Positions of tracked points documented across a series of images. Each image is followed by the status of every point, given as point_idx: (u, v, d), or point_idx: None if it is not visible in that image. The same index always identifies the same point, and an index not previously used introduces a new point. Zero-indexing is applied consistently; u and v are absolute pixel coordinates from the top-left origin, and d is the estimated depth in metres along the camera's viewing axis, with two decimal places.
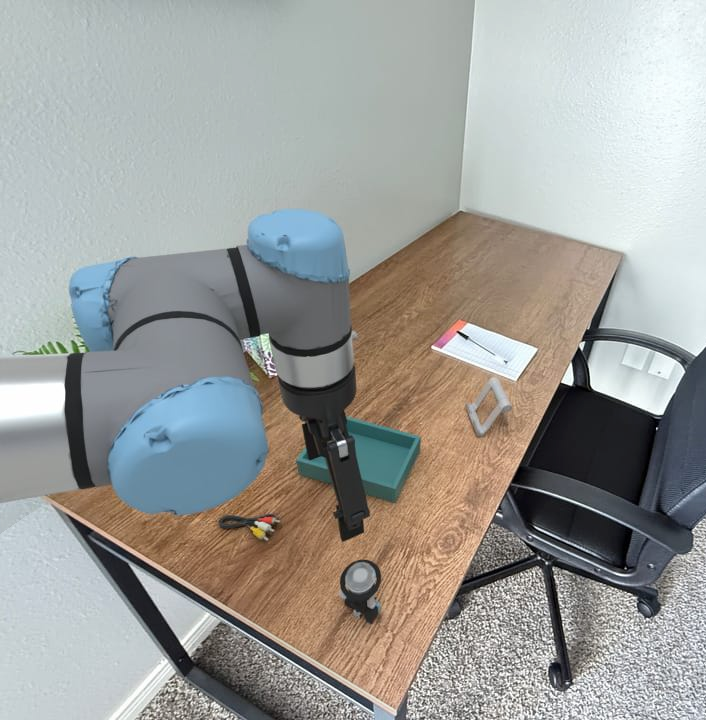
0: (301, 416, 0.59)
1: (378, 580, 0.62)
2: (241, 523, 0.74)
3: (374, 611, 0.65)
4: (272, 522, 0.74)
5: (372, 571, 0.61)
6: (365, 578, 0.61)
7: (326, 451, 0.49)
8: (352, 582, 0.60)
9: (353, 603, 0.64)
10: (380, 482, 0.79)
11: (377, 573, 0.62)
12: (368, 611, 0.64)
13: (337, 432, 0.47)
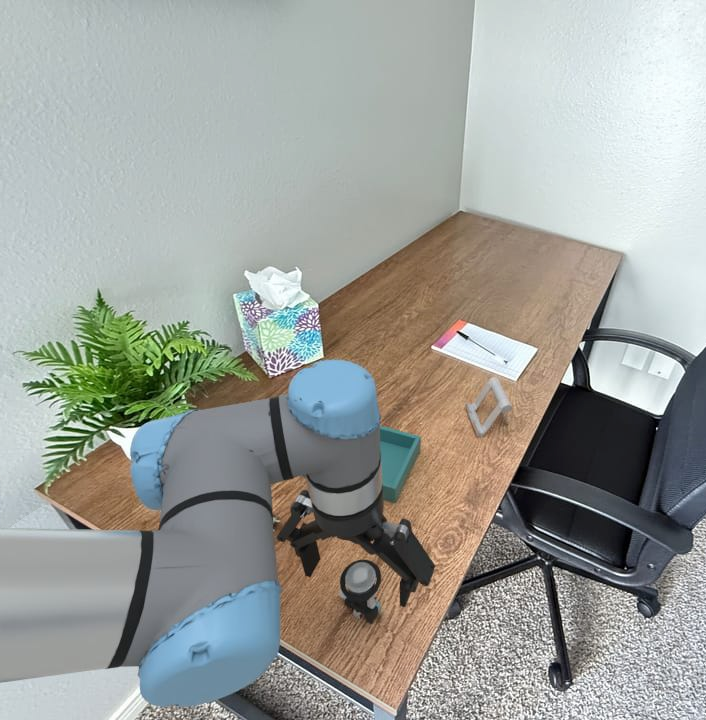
0: (297, 544, 0.58)
1: (378, 580, 0.62)
2: None
3: (374, 611, 0.65)
4: None
5: (372, 571, 0.61)
6: (365, 578, 0.61)
7: (379, 547, 0.54)
8: (352, 582, 0.60)
9: (353, 603, 0.64)
10: None
11: (377, 573, 0.62)
12: (368, 611, 0.64)
13: (390, 525, 0.52)
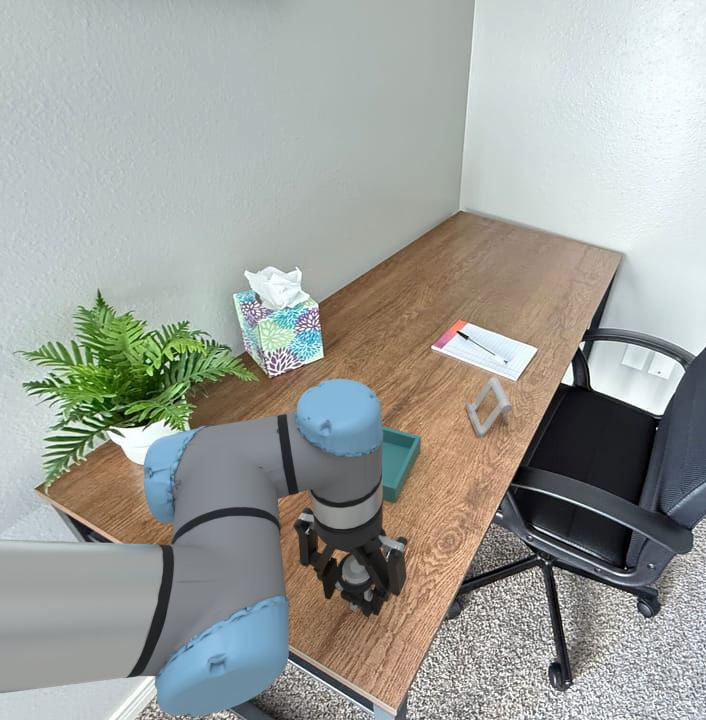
0: (318, 567, 0.60)
1: None
2: None
3: (371, 604, 0.63)
4: None
5: None
6: (363, 569, 0.59)
7: (370, 560, 0.56)
8: (349, 572, 0.58)
9: (350, 595, 0.62)
10: None
11: None
12: (365, 604, 0.62)
13: (389, 541, 0.54)
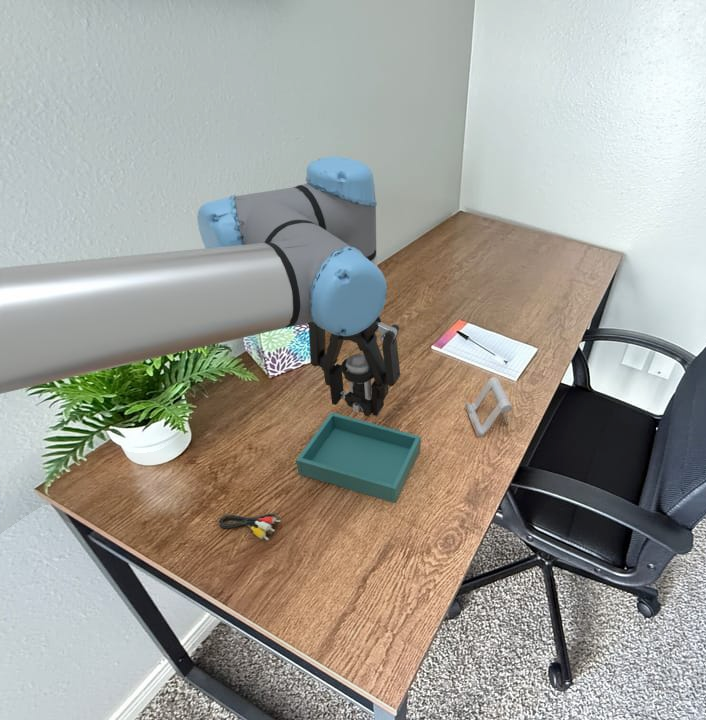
0: (326, 365, 0.71)
1: None
2: (241, 523, 0.74)
3: (371, 403, 0.74)
4: (272, 522, 0.74)
5: None
6: (363, 362, 0.70)
7: (368, 346, 0.67)
8: (351, 364, 0.70)
9: (353, 394, 0.74)
10: (380, 482, 0.79)
11: None
12: (365, 402, 0.74)
13: (384, 325, 0.65)
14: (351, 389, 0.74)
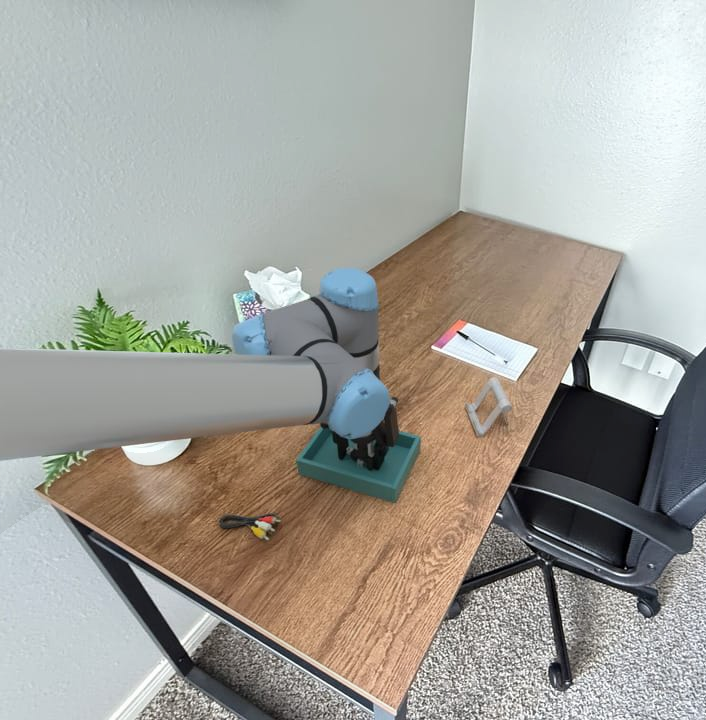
0: None
1: None
2: (241, 523, 0.74)
3: (373, 459, 0.84)
4: (272, 522, 0.74)
5: None
6: None
7: None
8: None
9: (357, 452, 0.84)
10: (380, 482, 0.79)
11: None
12: (368, 459, 0.84)
13: None
14: (356, 447, 0.84)
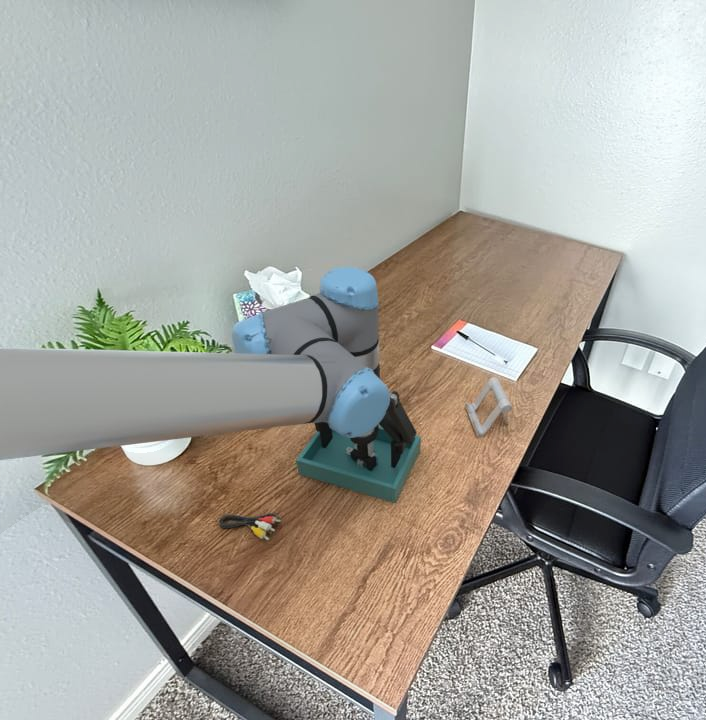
0: None
1: (376, 430, 0.81)
2: (242, 523, 0.74)
3: (373, 459, 0.84)
4: (273, 521, 0.74)
5: None
6: None
7: None
8: None
9: (357, 452, 0.84)
10: (380, 482, 0.79)
11: None
12: (368, 459, 0.84)
13: None
14: (356, 447, 0.84)
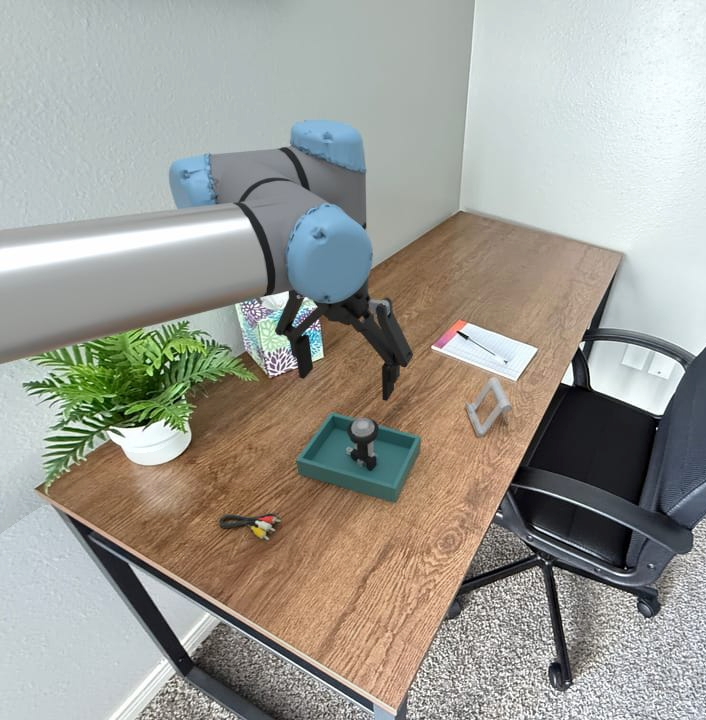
0: (293, 335, 0.67)
1: (376, 430, 0.81)
2: (242, 523, 0.74)
3: (373, 459, 0.84)
4: (273, 521, 0.74)
5: (371, 423, 0.81)
6: (366, 427, 0.80)
7: (364, 324, 0.63)
8: (356, 428, 0.80)
9: (357, 452, 0.84)
10: (380, 482, 0.79)
11: (375, 426, 0.82)
12: (368, 459, 0.84)
13: (374, 301, 0.61)
14: (356, 447, 0.84)
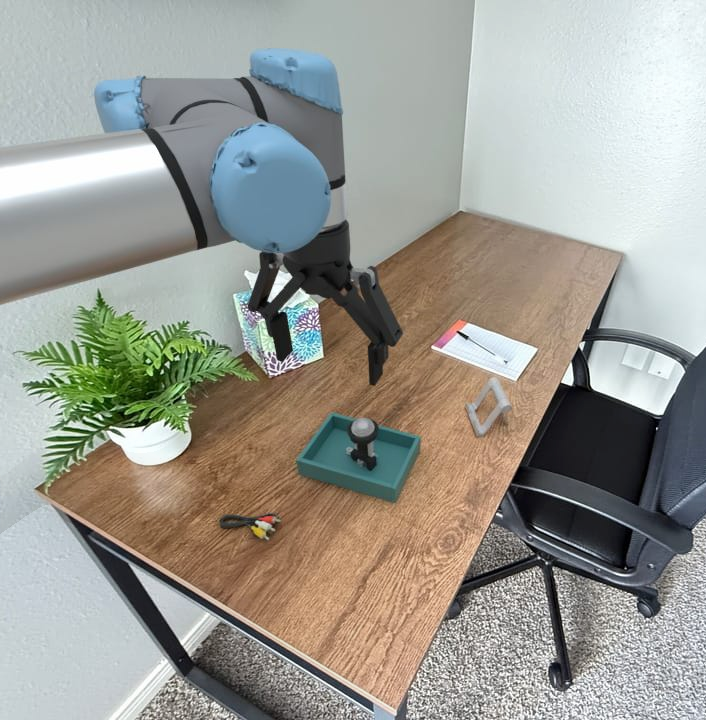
0: (268, 311, 0.59)
1: (376, 430, 0.81)
2: (242, 522, 0.74)
3: (373, 459, 0.84)
4: (273, 521, 0.74)
5: (371, 423, 0.81)
6: (366, 427, 0.80)
7: (346, 297, 0.55)
8: (356, 428, 0.80)
9: (357, 452, 0.84)
10: (380, 482, 0.79)
11: (375, 426, 0.82)
12: (368, 459, 0.84)
13: (356, 269, 0.54)
14: (356, 447, 0.84)
